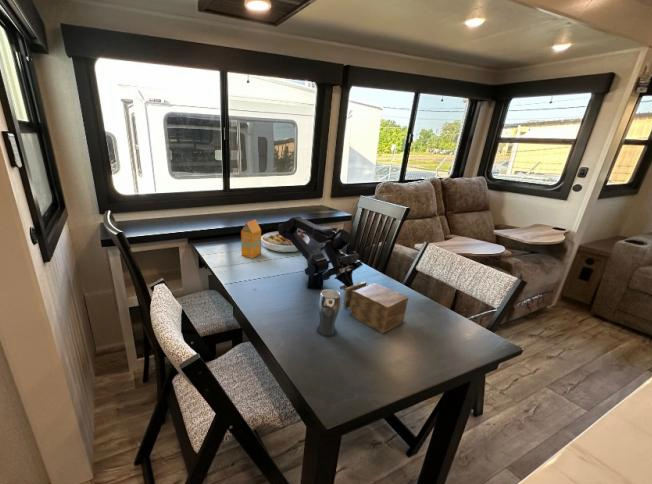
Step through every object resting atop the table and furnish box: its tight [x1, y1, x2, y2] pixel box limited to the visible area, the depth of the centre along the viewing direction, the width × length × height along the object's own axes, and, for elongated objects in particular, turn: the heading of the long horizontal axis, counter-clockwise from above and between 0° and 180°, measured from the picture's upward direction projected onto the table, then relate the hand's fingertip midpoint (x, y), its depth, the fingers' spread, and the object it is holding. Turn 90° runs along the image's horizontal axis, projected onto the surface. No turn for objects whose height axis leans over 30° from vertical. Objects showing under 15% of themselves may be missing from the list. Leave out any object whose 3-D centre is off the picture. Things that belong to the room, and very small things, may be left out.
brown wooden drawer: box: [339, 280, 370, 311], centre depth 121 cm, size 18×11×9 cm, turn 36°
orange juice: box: [240, 218, 262, 259], centre depth 175 cm, size 8×9×20 cm
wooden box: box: [350, 282, 409, 334], centre depth 116 cm, size 15×13×11 cm
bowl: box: [261, 229, 310, 253], centre depth 193 cm, size 30×30×8 cm
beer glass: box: [317, 288, 341, 337], centre depth 107 cm, size 7×7×15 cm
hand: (352, 288), depth 125 cm, fingers closed, pressing on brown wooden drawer
